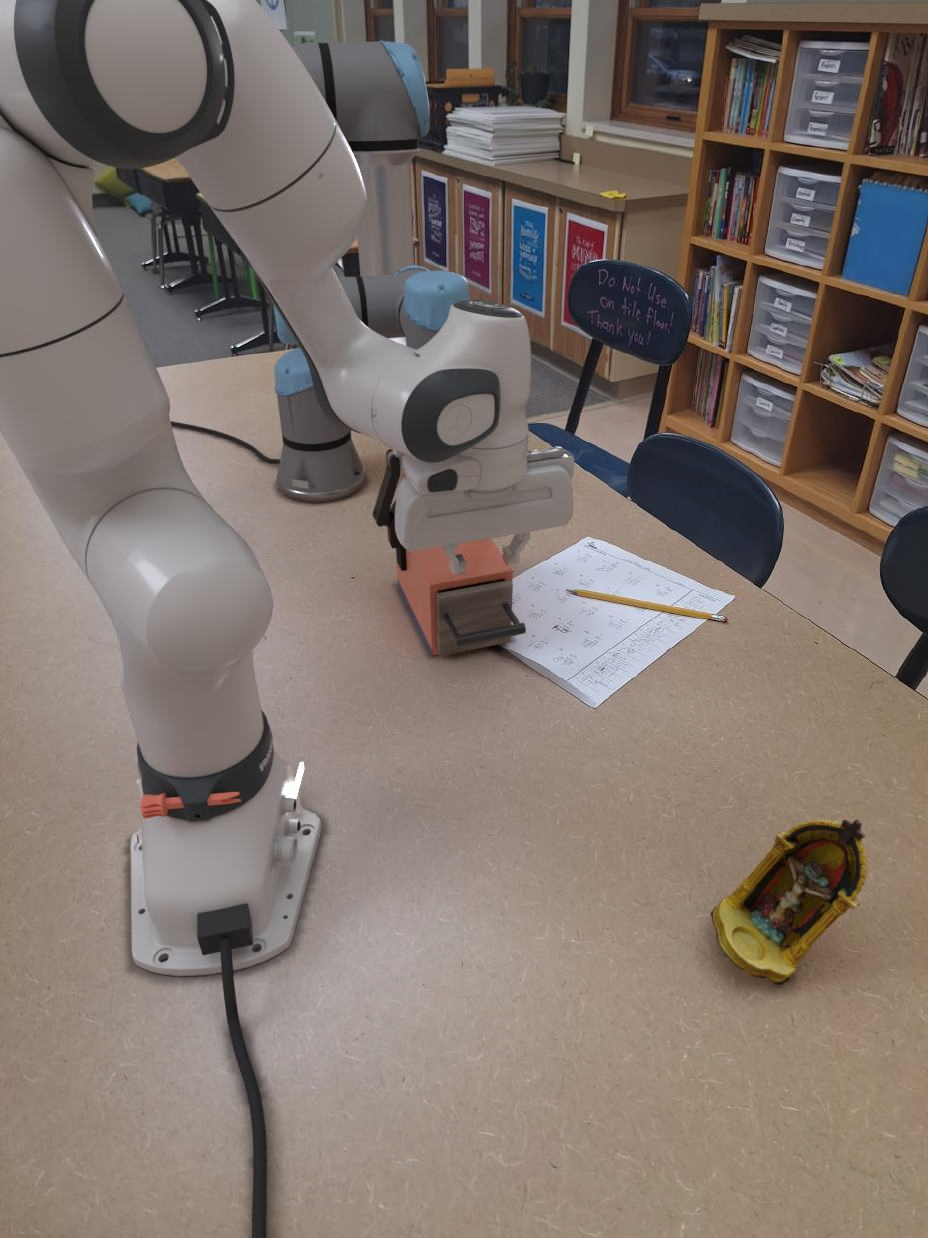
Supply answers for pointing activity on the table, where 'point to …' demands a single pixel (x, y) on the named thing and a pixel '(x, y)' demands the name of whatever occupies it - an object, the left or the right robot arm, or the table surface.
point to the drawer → (475, 617)
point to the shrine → (792, 897)
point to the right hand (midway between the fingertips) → (442, 558)
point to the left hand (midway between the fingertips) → (484, 567)
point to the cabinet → (446, 579)
